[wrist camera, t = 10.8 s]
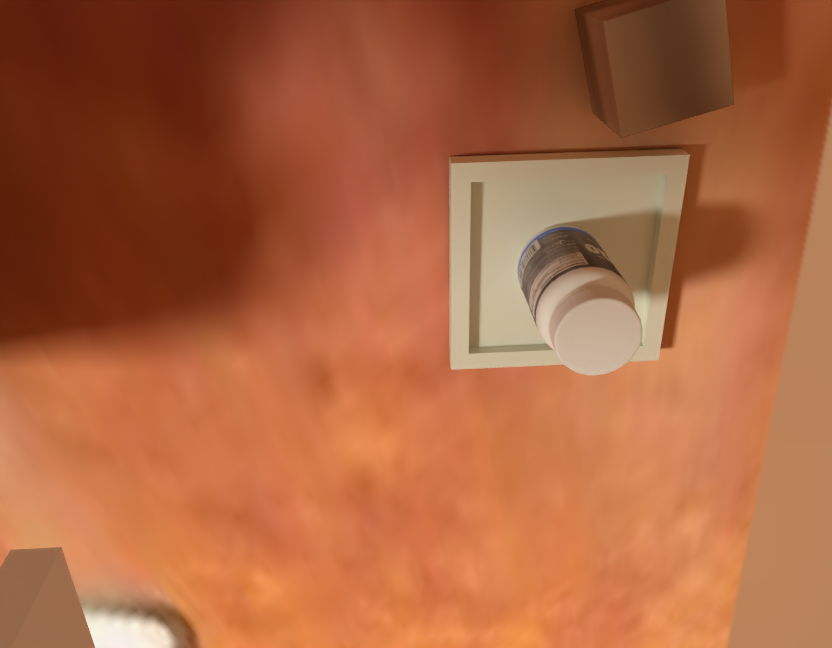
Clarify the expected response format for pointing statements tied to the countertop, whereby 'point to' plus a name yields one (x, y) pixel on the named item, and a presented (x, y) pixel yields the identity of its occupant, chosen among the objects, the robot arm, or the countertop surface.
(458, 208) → the tray
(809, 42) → the countertop surface
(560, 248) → the pill bottle
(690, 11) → the walnut cube
